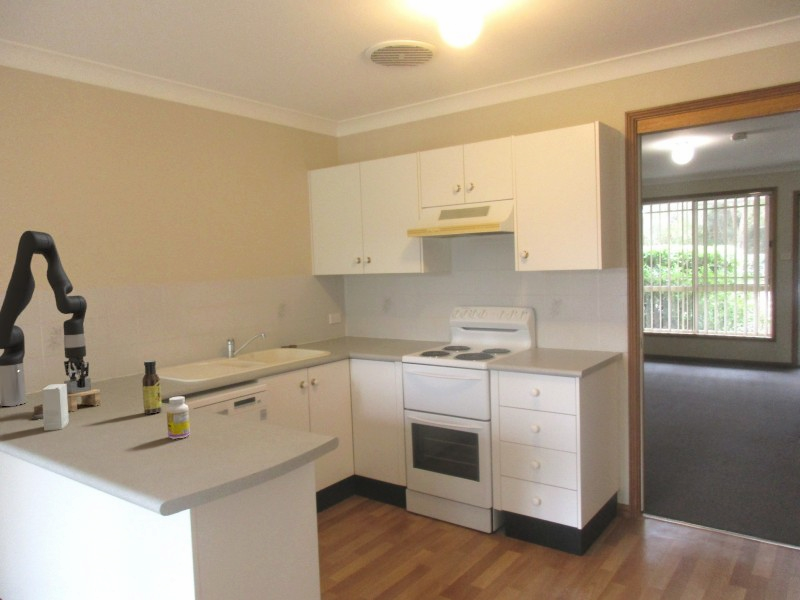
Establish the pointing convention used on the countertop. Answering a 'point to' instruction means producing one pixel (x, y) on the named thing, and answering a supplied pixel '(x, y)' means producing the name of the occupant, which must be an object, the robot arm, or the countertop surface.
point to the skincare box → (55, 406)
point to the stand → (84, 399)
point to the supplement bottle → (178, 418)
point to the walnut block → (38, 409)
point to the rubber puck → (37, 416)
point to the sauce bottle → (151, 389)
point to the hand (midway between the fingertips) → (78, 386)
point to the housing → (77, 386)
